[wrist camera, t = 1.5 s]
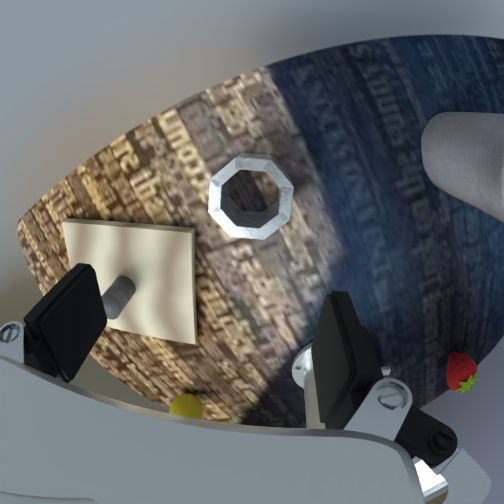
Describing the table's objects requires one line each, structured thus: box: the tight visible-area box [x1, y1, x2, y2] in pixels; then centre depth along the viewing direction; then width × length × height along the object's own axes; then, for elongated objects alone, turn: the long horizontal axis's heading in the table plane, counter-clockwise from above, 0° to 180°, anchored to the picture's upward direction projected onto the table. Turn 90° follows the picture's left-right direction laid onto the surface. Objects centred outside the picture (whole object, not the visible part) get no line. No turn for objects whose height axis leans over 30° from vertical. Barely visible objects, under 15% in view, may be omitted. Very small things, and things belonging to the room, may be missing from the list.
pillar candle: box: [421, 112, 504, 223], centre depth 17 cm, size 10×10×15 cm
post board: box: [62, 218, 198, 344], centre depth 30 cm, size 18×16×6 cm
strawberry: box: [446, 351, 479, 394], centre depth 32 cm, size 6×8×10 cm
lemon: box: [169, 394, 203, 420], centre depth 40 cm, size 6×6×8 cm
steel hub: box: [209, 152, 294, 240], centre depth 25 cm, size 7×7×5 cm
